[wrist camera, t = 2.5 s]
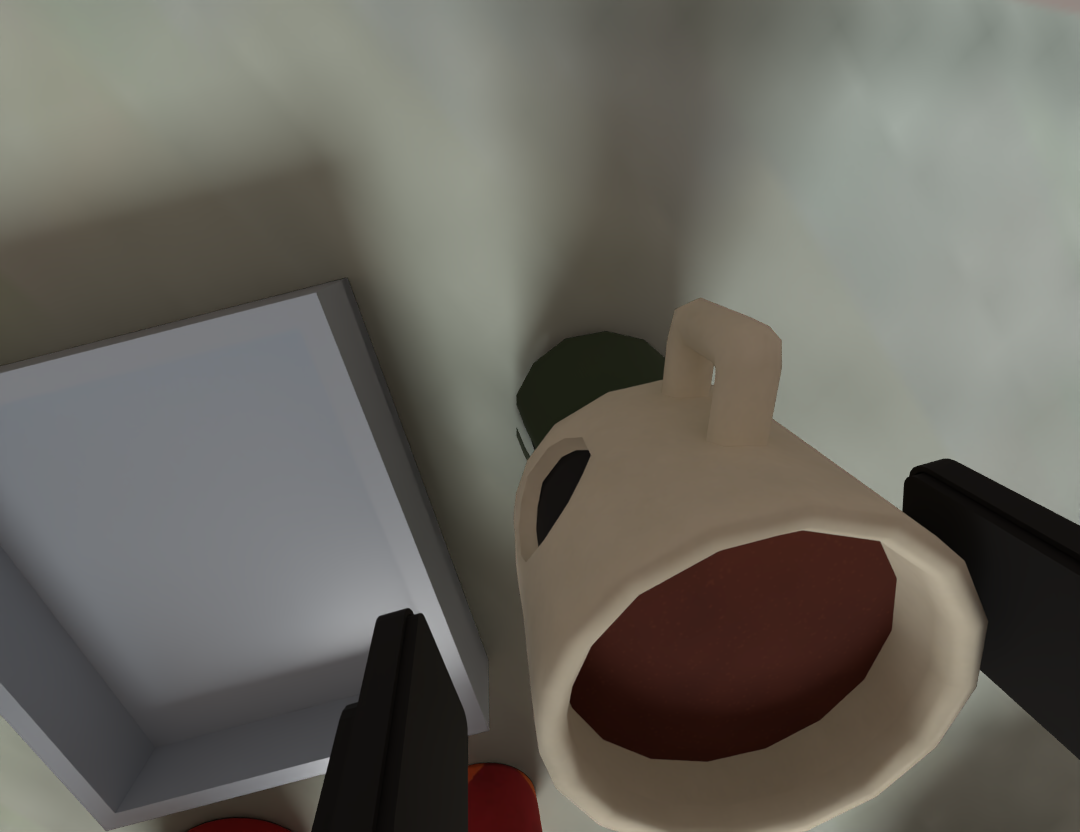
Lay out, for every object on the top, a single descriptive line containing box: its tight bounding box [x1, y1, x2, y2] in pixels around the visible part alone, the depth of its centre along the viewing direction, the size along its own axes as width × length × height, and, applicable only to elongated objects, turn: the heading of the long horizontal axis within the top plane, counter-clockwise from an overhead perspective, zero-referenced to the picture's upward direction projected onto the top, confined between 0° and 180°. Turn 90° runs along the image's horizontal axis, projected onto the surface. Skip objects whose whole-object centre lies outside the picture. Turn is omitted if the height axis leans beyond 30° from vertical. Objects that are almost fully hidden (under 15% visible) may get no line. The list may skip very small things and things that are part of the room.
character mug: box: [514, 298, 988, 832], centre depth 14 cm, size 11×7×13 cm, turn 179°
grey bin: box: [0, 278, 489, 831], centre depth 19 cm, size 16×18×4 cm
